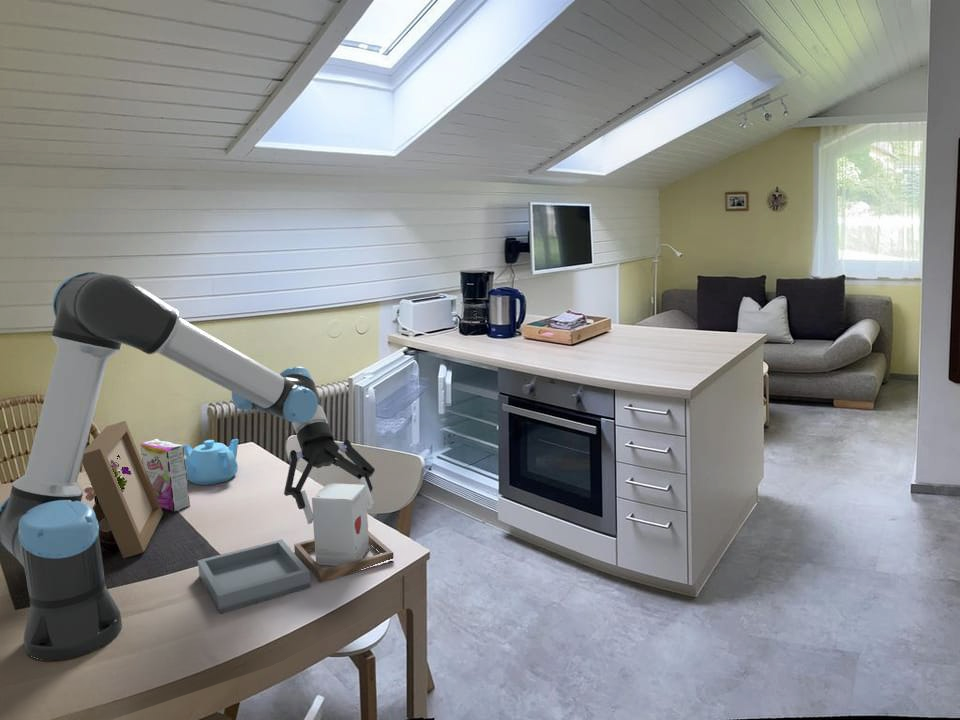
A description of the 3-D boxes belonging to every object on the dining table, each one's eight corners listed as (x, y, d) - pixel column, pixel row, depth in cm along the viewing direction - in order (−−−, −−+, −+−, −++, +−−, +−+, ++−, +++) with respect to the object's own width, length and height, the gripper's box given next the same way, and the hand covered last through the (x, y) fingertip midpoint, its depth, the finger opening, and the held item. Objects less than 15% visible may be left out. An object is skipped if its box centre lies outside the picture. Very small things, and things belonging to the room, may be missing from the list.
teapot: (179, 490, 202) (175, 452, 200) (185, 472, 217) (181, 436, 214) (239, 484, 206) (235, 446, 204) (241, 466, 220) (237, 430, 218)
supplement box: (355, 568, 156) (351, 500, 153) (315, 565, 158) (310, 497, 155) (370, 549, 164) (366, 483, 161) (331, 546, 166) (327, 481, 163)
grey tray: (219, 613, 140) (217, 596, 139) (199, 576, 154) (197, 560, 153) (310, 587, 148) (309, 570, 148) (283, 554, 163) (282, 539, 162)
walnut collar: (320, 582, 150) (319, 573, 150) (294, 552, 164) (294, 544, 163) (393, 561, 158) (393, 552, 158) (363, 534, 172) (362, 526, 171)
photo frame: (163, 516, 185) (150, 418, 180) (144, 556, 164) (128, 445, 159) (98, 524, 182) (83, 424, 177) (70, 565, 161) (52, 453, 156)
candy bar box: (146, 504, 193) (138, 443, 190) (163, 498, 197) (156, 437, 194) (173, 513, 187) (166, 449, 184) (191, 506, 191) (184, 444, 188)
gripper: (359, 427, 180) (390, 507, 170) (254, 447, 167) (281, 535, 158) (367, 411, 174) (399, 492, 165) (259, 430, 161) (287, 520, 152)
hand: (341, 513), depth 161 cm, fingers open, 13 cm apart
